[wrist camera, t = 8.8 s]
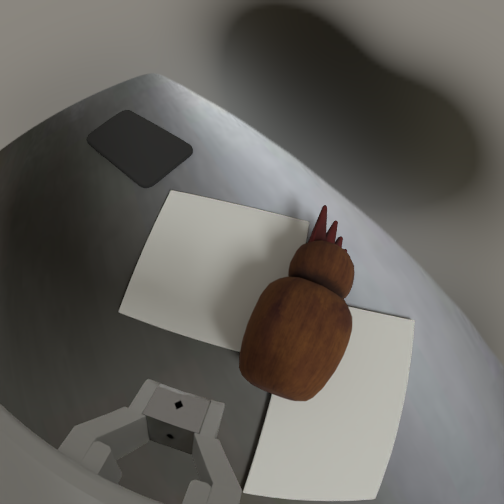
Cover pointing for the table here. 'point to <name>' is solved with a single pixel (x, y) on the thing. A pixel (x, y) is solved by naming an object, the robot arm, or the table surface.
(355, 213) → the table surface
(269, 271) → the mat side
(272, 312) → the wooden figurine
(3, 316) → the table surface
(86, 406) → the table surface
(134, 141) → the phone
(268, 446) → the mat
